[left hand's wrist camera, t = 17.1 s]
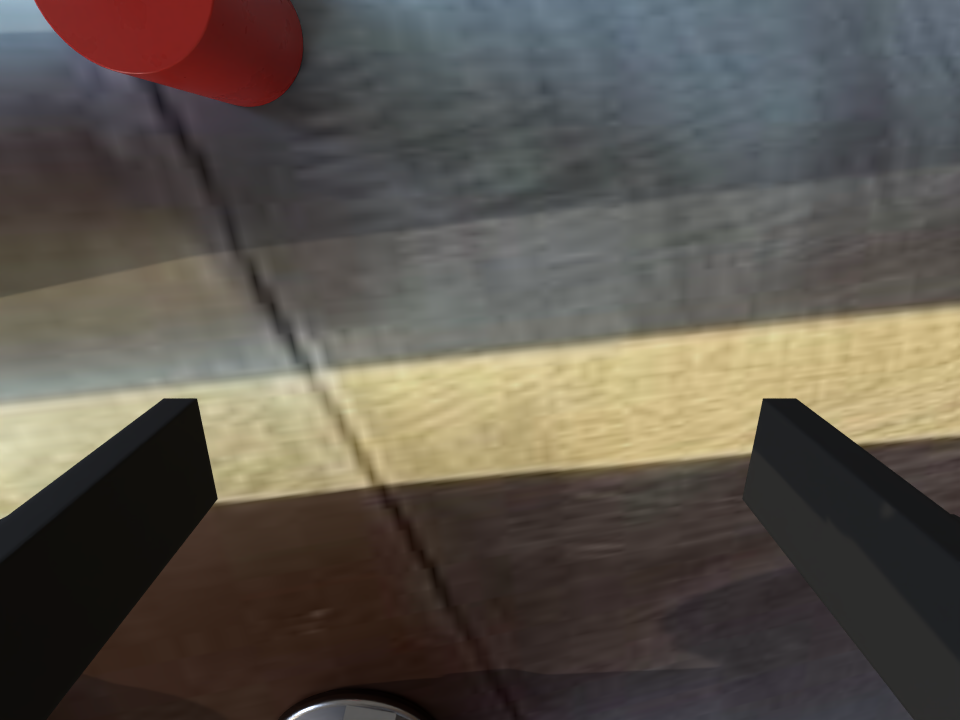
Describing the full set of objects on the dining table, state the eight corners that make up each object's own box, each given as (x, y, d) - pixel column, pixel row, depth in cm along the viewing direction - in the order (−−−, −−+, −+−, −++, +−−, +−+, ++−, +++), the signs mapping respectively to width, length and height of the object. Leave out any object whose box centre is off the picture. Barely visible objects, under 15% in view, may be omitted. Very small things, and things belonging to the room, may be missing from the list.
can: (266, -60, 26) (147, -193, 16) (324, 78, 28) (249, 31, 19) (151, -5, 27) (-26, -103, 17) (217, 125, 29) (91, 102, 19)
